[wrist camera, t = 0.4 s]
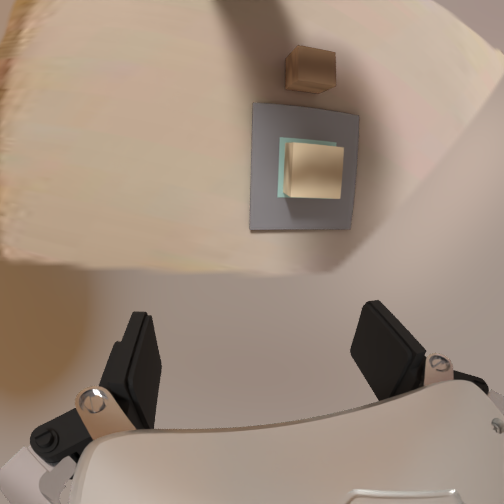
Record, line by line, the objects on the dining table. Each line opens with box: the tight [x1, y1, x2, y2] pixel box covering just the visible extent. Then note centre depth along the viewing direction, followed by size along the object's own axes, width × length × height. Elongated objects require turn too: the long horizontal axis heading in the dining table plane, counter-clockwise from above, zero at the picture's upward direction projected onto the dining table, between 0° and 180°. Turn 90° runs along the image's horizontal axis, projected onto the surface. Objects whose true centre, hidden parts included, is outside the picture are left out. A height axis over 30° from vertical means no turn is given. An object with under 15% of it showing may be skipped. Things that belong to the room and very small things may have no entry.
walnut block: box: [285, 45, 336, 94], centre depth 30 cm, size 5×5×6 cm
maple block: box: [283, 142, 344, 199], centre depth 35 cm, size 7×7×4 cm
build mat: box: [250, 103, 359, 230], centre depth 37 cm, size 18×16×1 cm
